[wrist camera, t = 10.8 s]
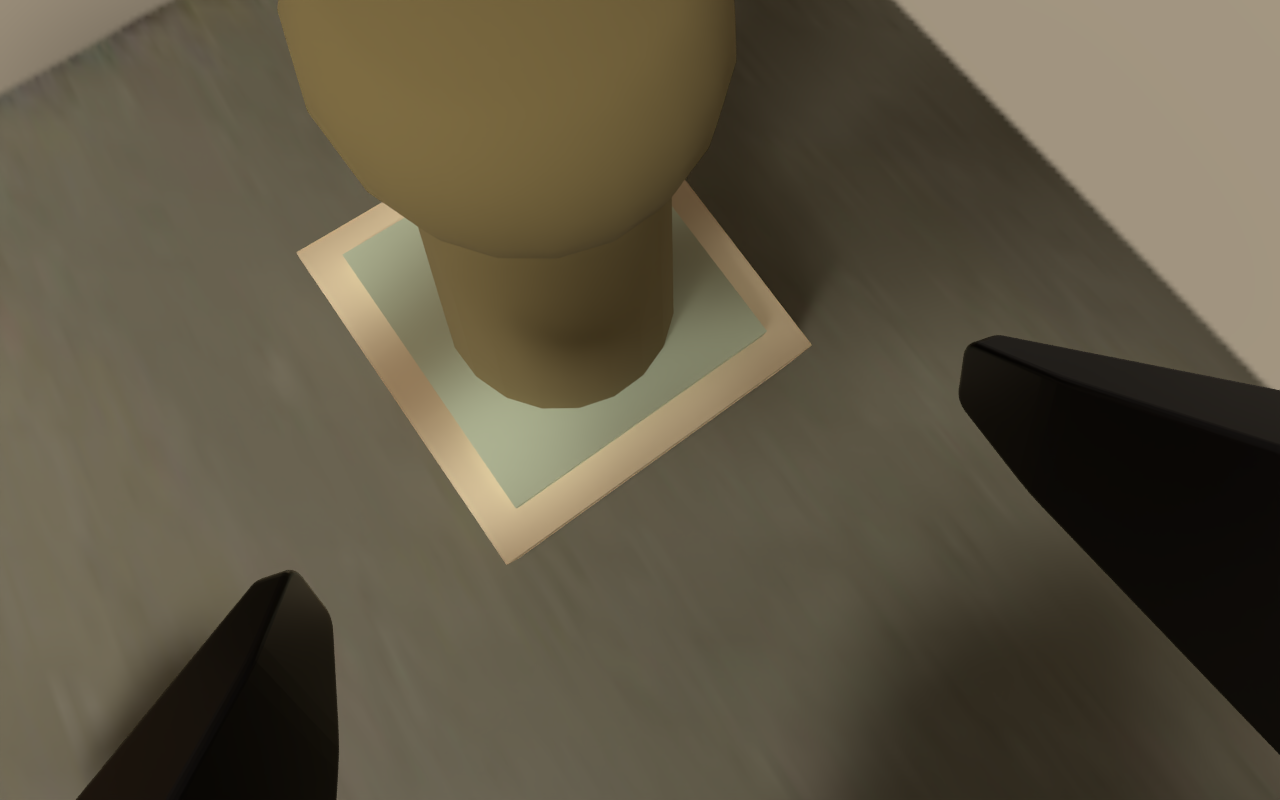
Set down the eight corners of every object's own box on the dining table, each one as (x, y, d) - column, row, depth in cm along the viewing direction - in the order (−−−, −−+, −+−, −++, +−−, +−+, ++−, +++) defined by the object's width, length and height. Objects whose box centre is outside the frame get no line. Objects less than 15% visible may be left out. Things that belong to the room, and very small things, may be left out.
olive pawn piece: (720, 296, 17) (937, -76, 6) (560, 458, 16) (492, 343, 5) (559, 148, 18) (505, -438, 7) (393, 296, 17) (16, -117, 6)
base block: (780, 369, 21) (818, 340, 17) (519, 558, 19) (504, 566, 16) (601, 133, 22) (603, 60, 18) (339, 291, 20) (287, 244, 17)
